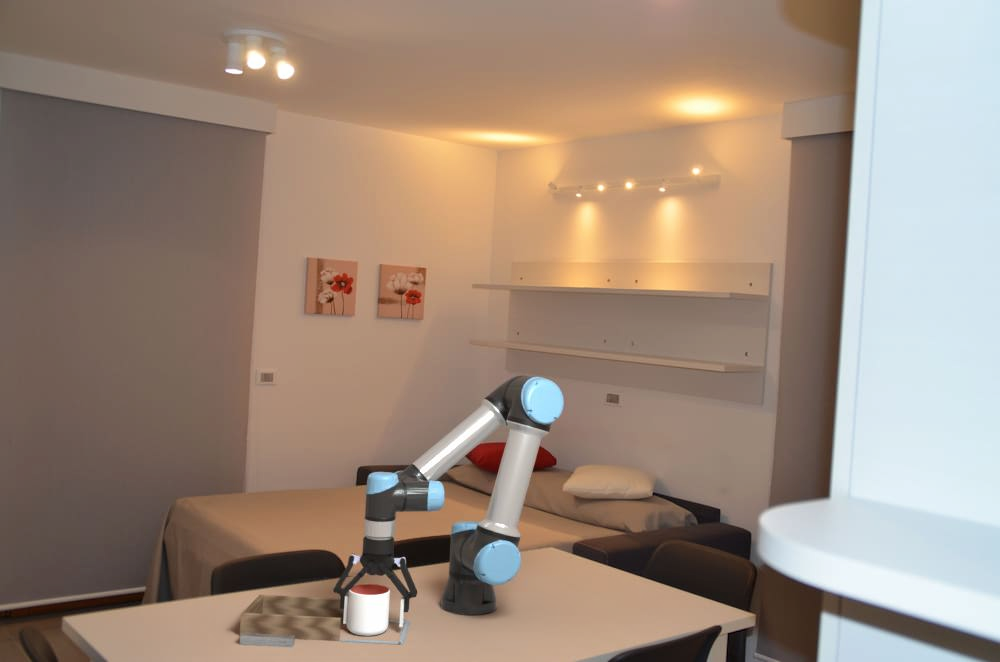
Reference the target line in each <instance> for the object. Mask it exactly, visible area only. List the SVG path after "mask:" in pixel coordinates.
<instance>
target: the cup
mask: <svg viewBox="0 0 1000 662" xmlns="http://www.w3.org/2000/svg"><path fill="white" fill-rule="evenodd" d="M348 594H349V597H348V613H347V623H346V628H347V630H348V631H349V632H350V633H351V634H354V635H356V636H357V635H358V636H366V637H368V636H369V637H371V636H378V635H380V634H384V633H385V632H386V631H387V629H388V628H389V627H388V626H389V622H388V620H390V619H389V617H390V616H389V615H390V600H391V599H390V598H391V589H390V587H388V586H386V585H381V584H375V583H361V584H355V585H354V586H353V587H352V588H351V589H350V590H349V591H348Z"/></svg>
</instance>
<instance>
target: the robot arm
mask: <svg viewBox="0 0 1000 662" xmlns="http://www.w3.org/2000/svg"><path fill="white" fill-rule="evenodd" d="M564 399H565V398H564V396H563V392H562V390H561V389H560V387H559V386H558V385H557V384H556V383H555V382H554V381H552V380H550V379H547V378H545V377H540V376H528V375H516V376H513V377H510V378H509V379H507V380H505V381H504V382H502V384H500V385H499V386H498V387H496V388H495V389H494V390H493V391H492V392H490V393H489V394H488V395H487V396H486V397H484V398H483V399H482V400H481V406H479V407H478V408H477V409H476V410H475V411H473V412H471V414H470V415H469V416H467V418H465V419H464V420H462V421H461V422H460V423H459V424H458V425H457V426H455V427H454V428H453V429H452V430H451V431H449V432H448V433H447V434H446V435H444V436H443V437H442V438H441V439H440V440H438V441H437V442H436V443H435V444H434V445H433V446H432V447H430V448H429V449H428V450H427V451H425V452H424V453H423V454H422V455H420V457H418V458H417V459H416V460H415V461H414V462H413V463H411V464H410V465H408V466H407V467H406V468H405V469H404V470H398V471H395V472H390V471H386V472H385V471H373V472H371V473H369V474H368V476H367V481H366V488H365V508H364V511H365V512H364V513H365V514H364V519H363V520H364V521H363V522H364V523H363V535H364V536H363V540H362V551H361V553H362V554H361V555H356V554H355V553H350V555H349V556H348V561H347V565H346V567H345V569H344V570H343V572H342V573H341V575H340V577H339V579H338V581H337V582H336V584H335V586H334V587H333V589H332V591H333V593H335V594H338V595H339V596H340V597H339V599H340V608H341V609H344V619H343V620H342V621H343V622H342V623H343V624H344V625H347V613H348V597H349V590H350V589H351V588H352V587H353V586H355V585H357V583H358V582H359V581H360V580H361V579H362V578H363V577H364V576H365V575H366V573H367V574H368V575H369V576H379V577H383V576H386V577H387V578H388V579H389V580H390V581H391V583H392V584H393V585H394V586H395V589H396V590H397V591H398V592H399V593H400V595H401V599H400V611H399V612H400V613H399V620H400V623H399V626H398V627H399V628H404V624H405V623H404V621H405V613H409V610H410V602H411V601H410V600H411V599H413V598H416V597H417V595H418V589H417V588H416V585H415V582H414V581H413V578H412V575H411V574H410V571H409V567H408V565H407V559H406V556H404V555H403V556H402V557H395V556H394V550H395V549H394V548H395V537H394V535H395V532H396V531H395V530H396V529H395V528H396V519H397V518H396V517H397V516H396V514H397V513H398V512H400V513H403V512H405V513H406V512H409V513H411V512H427V513H430V512H437V511H440V510H441V509H443V506H444V504H445V495H446V493H445V487H444V484H443V483H442V482H441V481H439V480H438V479H440V477H441V476H443V475H444V474H445V473H447V472H448V471H449V470H450V469H451V468H452V467H454V466H455V465H456V464H457V463H458V462H459V461H460V460H463V458H464V457H465V456H467V455H468V454H469V453H470V452H471V451H473V449H475V448H476V447H477V446H478V445H480V444H481V443H482V442H483V441H484V440H486V439H487V438H488V437H489V436H490V435H491V434H493V433H494V432H495V431H496V430H497V429H498V428H505V427H506V426H508V427H509V432H508V436H507V438H506V439H507V440H506V443H505V446H504V450H503V453H502V457H501V460H500V463H499V467H498V472H497V475H496V479H495V483H494V486H493V489H492V493H491V496H490V500H489V504H488V507H487V511H486V513H485V518H484V519H482V520H480V521H479V520H476V521H475V520H472V521H471V520H469V521H468V520H467V521H465V520H464V521H456V522H454V523H453V524H452V525H451V531H450V535H449V536H450V544H449V545H450V546H449V547H450V548H449V565H448V569H449V570H448V578H447V582H446V583H445V587H444V589H443V592H442V594H441V596H440V597H441V598H440V607H441V608H442V609H443V610H445V611H447V612H450V613H453V614H456V615H457V614H458V615H466V616H468V615H469V616H471V615H472V616H476V615H485V614H490V613H493V612H494V611H496V609H497V595H496V592H495V589H494V586H502V585H504V584H507V583H508V582H510V581H512V580H513V579H514V578H515V577H516V575H518V573H519V571H520V568H521V565H522V555H521V552H520V550H519V545H520V541H521V540H520V539H521V537H522V534H521V533H520V531H519V530H518V526H519V521H520V518H521V514H522V511H523V507H524V503H525V501H526V500H525V499H526V495H527V493H528V489H529V485H530V481H531V477H532V474H533V470H534V466H535V464H536V460H537V455H538V454H539V453H538V452H539V448H540V445H541V441H542V439H543V438H544V437H545V436H547V435H548V434H550V432H551V426H552V425H553V423H554V422H555V421H556V420H557V419H559V418H560V416H561V414H562V413H563V411H564V410H563V409H564V405H565V401H564ZM358 562H360V564H361V566H362V568H361V569H360V570H359V571H358V572H357V574H356V575H354V577H353V578H352V579H351V580H350V581H349V582H348V583H347V584H346V585H345V587H342V585H343V584H344V582H345V580H346V579H347V577H348V575H349V574H350V572H351V570H352V568H353V566H355V565H357V563H358ZM395 564H396V565H397V567H398V568H400V571H401V574H402V576H403V579H404V582H405V583H406V586H407V588H408V589H407V588H406V586H405V585H404V584H403V582H402V581H401V579H400V578H399V577H398V575H397V574H396V573H395V570H394V569H393V568H392V567H393V566H394V565H395Z"/></svg>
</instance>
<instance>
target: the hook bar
mask: <svg viewBox="0 0 1000 662" xmlns="http://www.w3.org/2000/svg"><path fill="white" fill-rule="evenodd" d="M295 641H296V639H295V636H294V635H275V634H256V633H254V630H245V631H244V632H243V633H242V634H241V635H240V634H239V646H241V645H242V646H243V645H244V646H261V647H262V646H263V647H265V646H266V647H276V648H277V647H278V648H282V647H283V648H293V647H294V646H295V644H296V643H295Z"/></svg>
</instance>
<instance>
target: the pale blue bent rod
mask: <svg viewBox="0 0 1000 662" xmlns="http://www.w3.org/2000/svg"><path fill="white" fill-rule="evenodd" d="M388 623H396V624H397V623H399V624H400V619H398V620H397V619H396V620H395V619H388ZM409 625H410V620H404V624H403V627H402V632H401V634H400V636H399V640H398V641H391V640H390V641H384V640H368V639H367V640H366V639H349V638H340V642H345V643H365V644H383V645H400V646H401V645H403V644H404V641H405V637H406V635H407V633H408V632H407V631H408V628H409Z"/></svg>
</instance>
